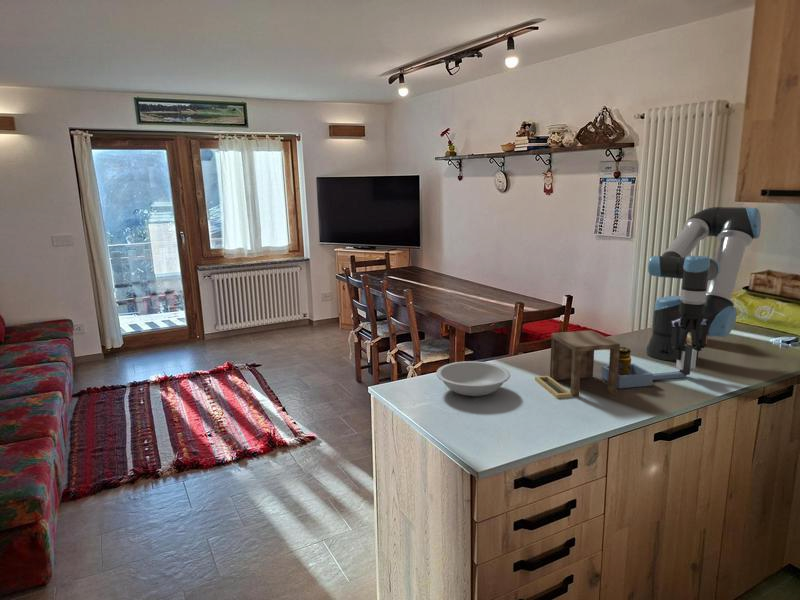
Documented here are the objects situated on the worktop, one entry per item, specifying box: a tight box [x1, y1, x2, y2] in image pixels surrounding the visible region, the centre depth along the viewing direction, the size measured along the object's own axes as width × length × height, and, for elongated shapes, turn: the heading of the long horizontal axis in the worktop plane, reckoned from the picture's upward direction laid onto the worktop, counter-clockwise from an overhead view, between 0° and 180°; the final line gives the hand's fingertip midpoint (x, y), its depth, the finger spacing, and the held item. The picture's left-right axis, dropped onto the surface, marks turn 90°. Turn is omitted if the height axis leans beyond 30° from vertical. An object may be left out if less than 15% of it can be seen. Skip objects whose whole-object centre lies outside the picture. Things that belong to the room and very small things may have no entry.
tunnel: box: [549, 329, 621, 398], centre depth 179 cm, size 15×17×16 cm
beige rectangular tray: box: [534, 375, 573, 399], centre depth 178 cm, size 5×17×1 cm, turn 10°
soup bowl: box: [435, 360, 511, 397], centre depth 177 cm, size 24×24×7 cm
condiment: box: [601, 346, 632, 389], centre depth 181 cm, size 7×8×12 cm
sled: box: [600, 343, 693, 389], centre depth 183 cm, size 30×11×11 cm, turn 100°
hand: (685, 368), depth 186 cm, fingers open, 4 cm apart
